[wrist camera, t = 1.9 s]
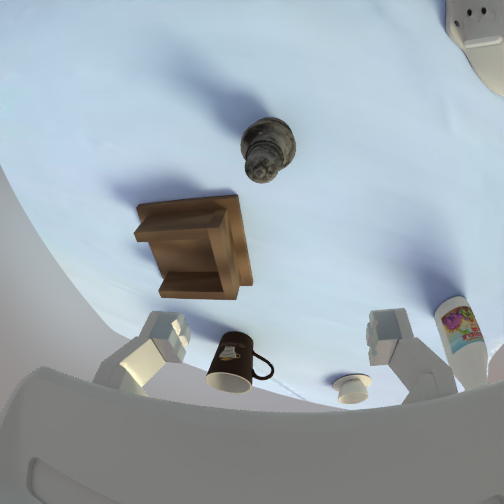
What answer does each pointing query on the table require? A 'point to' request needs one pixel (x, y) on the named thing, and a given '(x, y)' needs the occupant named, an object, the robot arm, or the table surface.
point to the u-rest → (197, 246)
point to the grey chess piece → (267, 149)
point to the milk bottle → (462, 342)
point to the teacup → (352, 388)
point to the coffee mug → (234, 364)
